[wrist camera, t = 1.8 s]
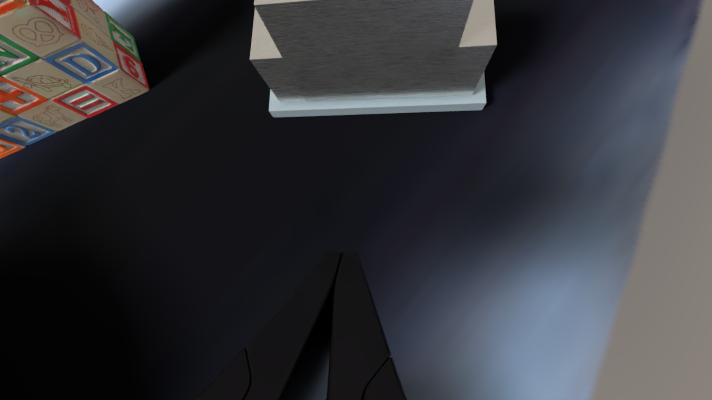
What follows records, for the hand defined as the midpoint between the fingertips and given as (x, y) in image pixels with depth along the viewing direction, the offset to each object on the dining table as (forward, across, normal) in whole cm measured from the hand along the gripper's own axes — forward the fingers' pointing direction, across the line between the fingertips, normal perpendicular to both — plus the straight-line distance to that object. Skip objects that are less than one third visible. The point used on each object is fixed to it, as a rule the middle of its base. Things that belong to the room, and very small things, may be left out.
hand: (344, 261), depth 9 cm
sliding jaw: (+18, 0, -2) cm, 18 cm away
